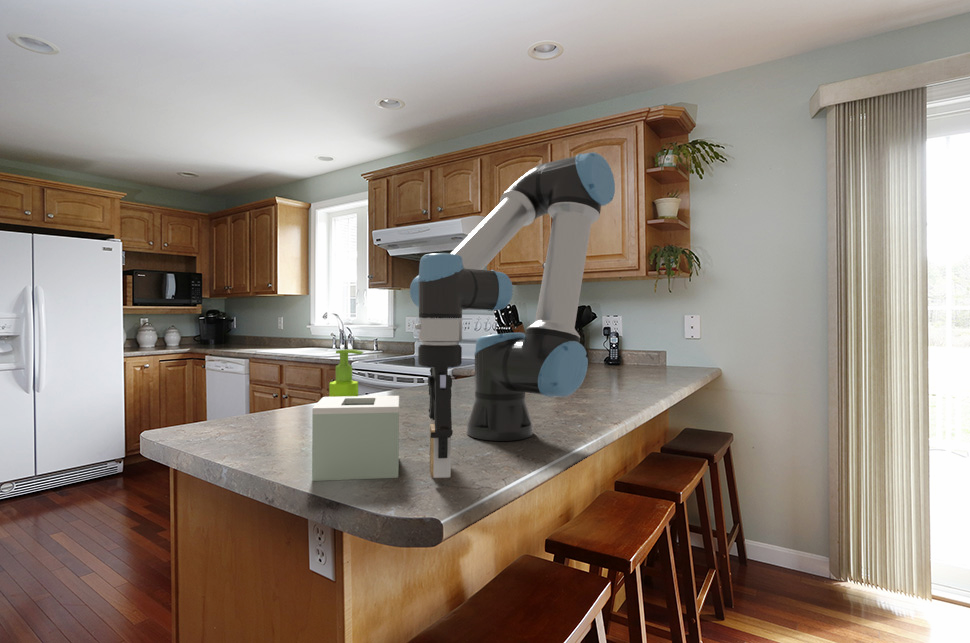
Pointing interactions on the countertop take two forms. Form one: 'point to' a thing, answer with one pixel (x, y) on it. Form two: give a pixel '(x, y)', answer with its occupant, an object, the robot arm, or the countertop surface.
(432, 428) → the white tan block
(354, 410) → the coin box
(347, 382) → the soap dispenser
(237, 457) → the countertop surface
